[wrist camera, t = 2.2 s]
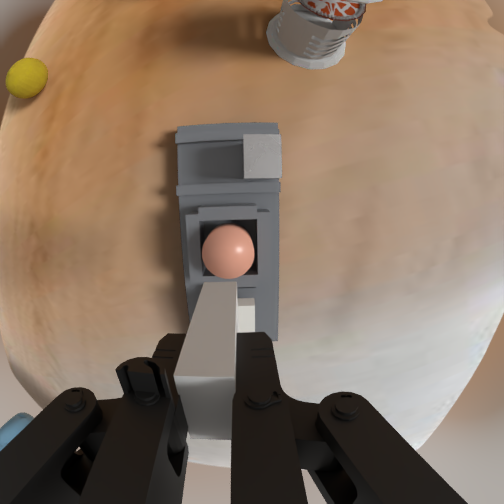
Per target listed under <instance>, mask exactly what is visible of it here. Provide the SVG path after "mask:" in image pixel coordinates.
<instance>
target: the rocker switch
mask: <svg viewBox="0 0 504 504" xmlns="http://www.w3.org/2000/svg"><path fill="white" fill-rule="evenodd" d="M237 299H238V321H239V333H242V332H255V301H254V298H237Z"/></svg>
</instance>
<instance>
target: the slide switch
mask: <svg viewBox="0 0 504 504" xmlns="http://www.w3.org/2000/svg"><path fill="white" fill-rule="evenodd" d="M278 178H282V152H281V134H243V179H278Z"/></svg>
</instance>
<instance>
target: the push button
mask: <svg viewBox="0 0 504 504" xmlns="http://www.w3.org/2000/svg"><path fill="white" fill-rule="evenodd" d="M202 259H203V262H204V264H205V266H206V268H207V269H208V270H209V271H210V272H211V273H212V274H214V275H215V276H217V277H220V278H224V279H233V278H237V277H239V276H241V275H243V274H245V273H246V272H247V271H248V270H249V268H250V267H251V265H252V263H253V260H254V247H253V243H252V239H251V236H250V234H249V233H248V231H247V230H246V229H245V228H243V227H242V226H240V225H238V224H235V223H224V224H220V225H218V226H216V227H215V228H214V229H213V230H212V231H211V232H210V234H209V235H208V237H207V239H206V240H205V242H204V244H203V248H202Z"/></svg>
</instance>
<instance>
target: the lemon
mask: <svg viewBox="0 0 504 504" xmlns="http://www.w3.org/2000/svg"><path fill="white" fill-rule="evenodd" d="M47 79H48V70H47V67H46V65H45V64H44V63H43V62H41V61H40V60H38V59H34V58H24V59H21V60H19V61H17V62H16V63H15V64H14V65H13V66H12V67H11V68H10V70H9V71H8V74H7V77H6V87H7V89H8V91H9V92H10V93H11V94H12V95H14V96H15V97H18V98H24V99H26V98H30V97H33V96H35V95H37V94H38V93H39V92H40V91H41V90H42V89H43V88H44V86H45V84H46V82H47Z"/></svg>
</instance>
